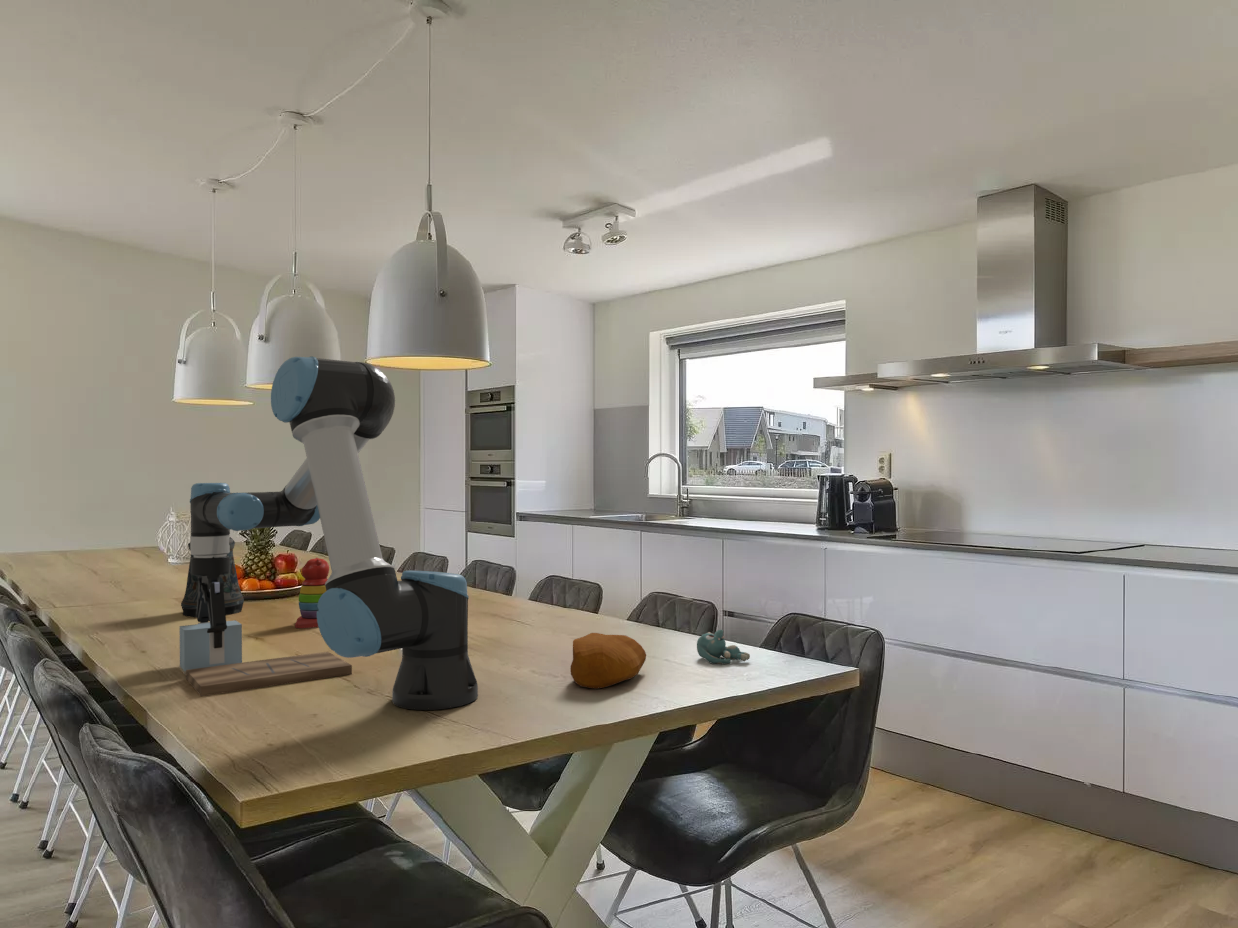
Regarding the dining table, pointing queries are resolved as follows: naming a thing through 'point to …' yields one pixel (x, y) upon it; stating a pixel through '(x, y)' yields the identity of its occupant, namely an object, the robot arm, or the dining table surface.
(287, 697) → the dining table surface
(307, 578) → the stacking bear
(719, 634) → the stuffed animal
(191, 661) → the sanding block
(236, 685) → the board
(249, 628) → the dining table surface
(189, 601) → the beer stein
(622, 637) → the bread
